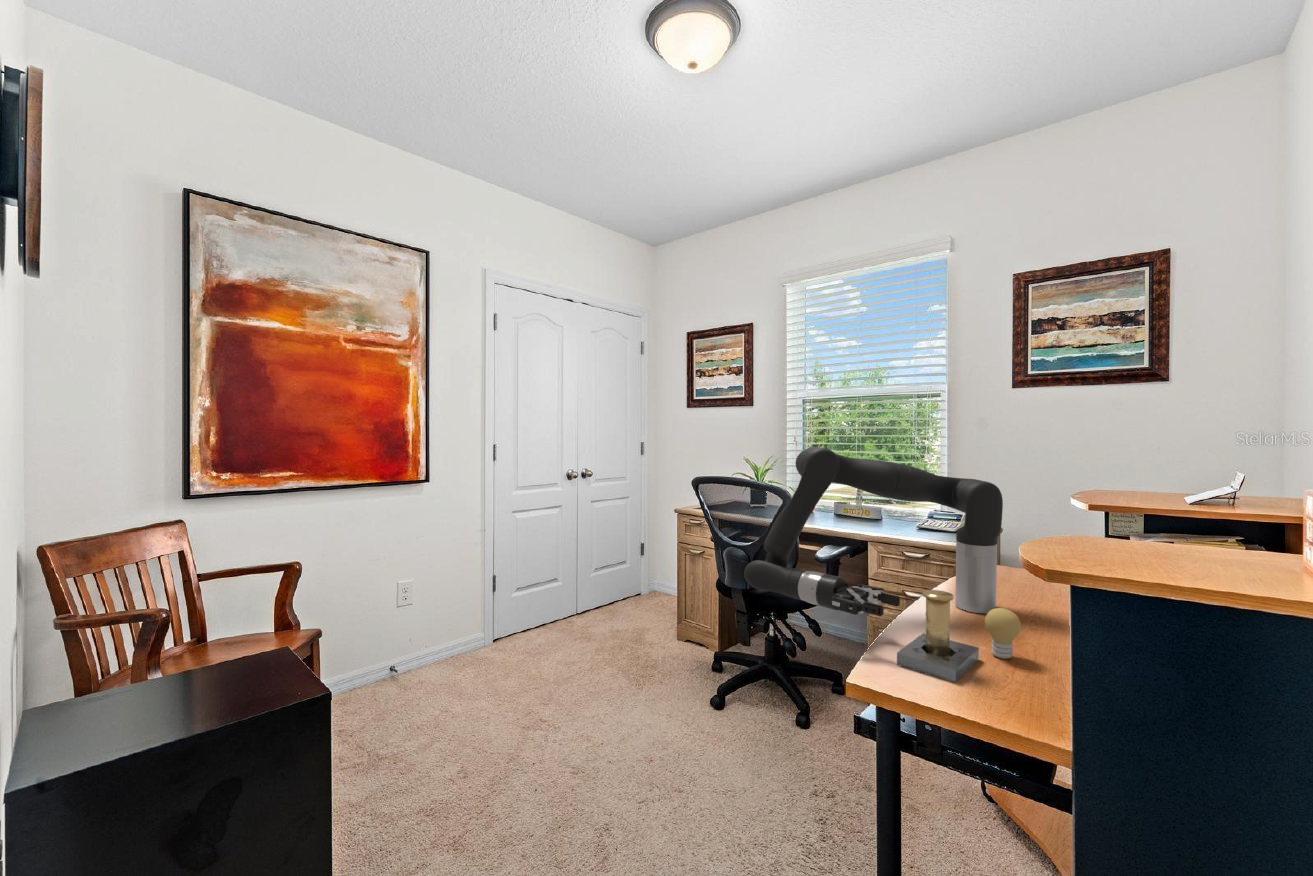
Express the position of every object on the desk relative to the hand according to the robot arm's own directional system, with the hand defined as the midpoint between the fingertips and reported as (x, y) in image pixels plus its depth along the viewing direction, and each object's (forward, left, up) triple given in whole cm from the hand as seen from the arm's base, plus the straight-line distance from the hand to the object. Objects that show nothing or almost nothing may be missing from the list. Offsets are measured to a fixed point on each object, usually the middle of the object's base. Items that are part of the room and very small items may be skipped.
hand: (891, 606), depth 121 cm
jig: (0, +10, -9) cm, 13 cm away
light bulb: (-12, +18, -10) cm, 24 cm away
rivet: (0, +9, -9) cm, 13 cm away
